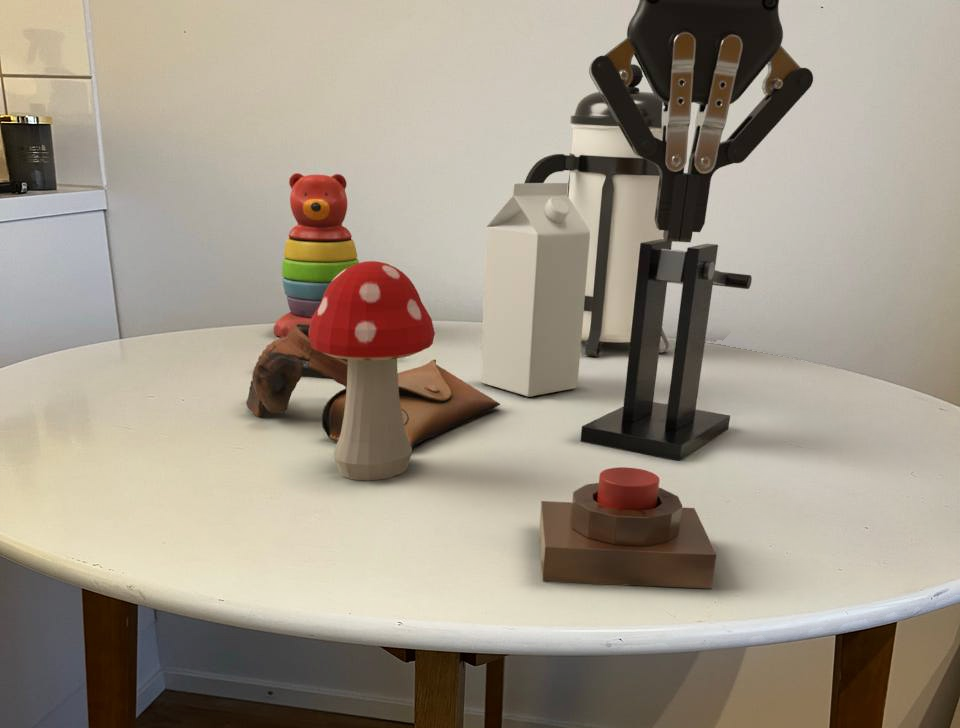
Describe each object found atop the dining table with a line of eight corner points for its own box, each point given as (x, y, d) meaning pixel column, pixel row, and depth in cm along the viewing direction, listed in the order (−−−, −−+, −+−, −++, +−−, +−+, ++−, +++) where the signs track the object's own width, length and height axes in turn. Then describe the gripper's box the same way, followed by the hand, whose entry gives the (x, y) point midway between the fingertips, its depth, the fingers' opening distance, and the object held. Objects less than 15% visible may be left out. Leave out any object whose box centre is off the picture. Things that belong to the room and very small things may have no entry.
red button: (652, 495, 64) (655, 468, 63) (660, 515, 60) (663, 487, 60) (594, 492, 64) (597, 465, 63) (599, 512, 60) (602, 484, 60)
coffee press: (564, 329, 133) (584, 66, 119) (683, 343, 127) (718, 69, 113) (510, 351, 119) (524, 57, 105) (640, 368, 113) (674, 59, 99)
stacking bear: (270, 337, 121) (261, 173, 113) (287, 322, 130) (280, 169, 122) (360, 341, 121) (358, 177, 112) (371, 326, 130) (370, 173, 121)
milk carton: (479, 384, 104) (487, 180, 95) (528, 375, 108) (540, 180, 99) (528, 398, 99) (541, 186, 90) (577, 389, 104) (595, 185, 95)
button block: (690, 539, 67) (698, 481, 65) (711, 589, 60) (721, 525, 58) (539, 532, 67) (543, 474, 65) (542, 581, 60) (547, 517, 58)
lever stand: (636, 412, 96) (656, 233, 89) (728, 429, 92) (756, 243, 85) (580, 441, 87) (597, 243, 80) (679, 460, 83) (706, 255, 76)
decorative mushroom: (381, 497, 72) (380, 275, 65) (287, 474, 76) (276, 261, 69) (455, 463, 80) (461, 261, 73) (366, 443, 84) (363, 250, 77)
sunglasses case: (410, 449, 81) (372, 371, 79) (346, 480, 85) (310, 405, 83) (505, 403, 95) (475, 336, 94) (447, 431, 99) (417, 367, 98)
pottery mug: (263, 398, 97) (305, 322, 95) (343, 453, 96) (387, 377, 94) (203, 393, 86) (248, 306, 83) (293, 456, 85) (341, 370, 83)
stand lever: (694, 290, 95) (699, 262, 94) (748, 296, 93) (754, 268, 92) (638, 277, 83) (643, 246, 83) (698, 284, 81) (704, 253, 80)
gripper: (602, -134, 50) (570, 240, 58) (870, -119, 50) (801, 254, 58) (593, -103, 57) (565, 228, 65) (829, -90, 57) (772, 241, 65)
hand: (677, 240), depth 61 cm, fingers closed
